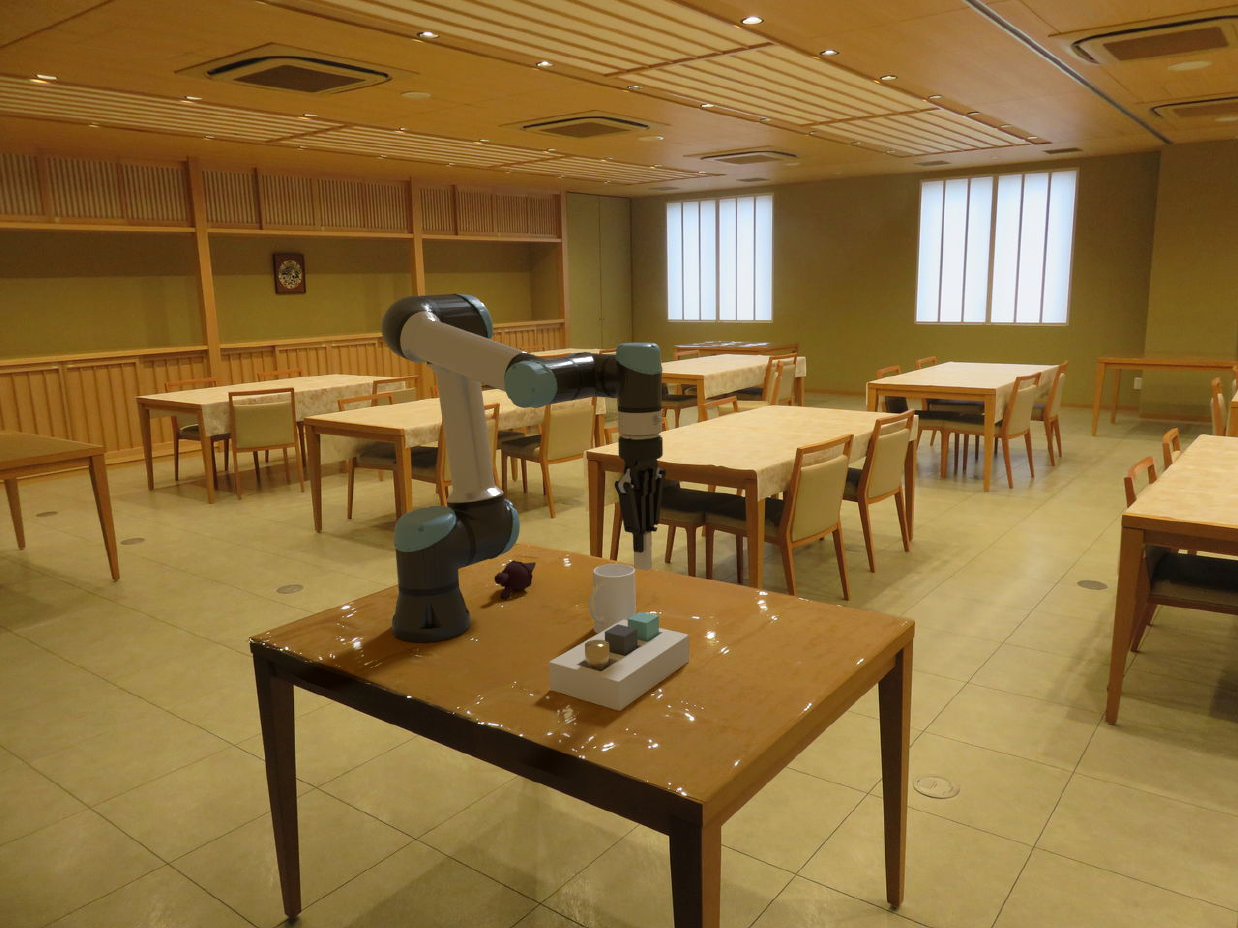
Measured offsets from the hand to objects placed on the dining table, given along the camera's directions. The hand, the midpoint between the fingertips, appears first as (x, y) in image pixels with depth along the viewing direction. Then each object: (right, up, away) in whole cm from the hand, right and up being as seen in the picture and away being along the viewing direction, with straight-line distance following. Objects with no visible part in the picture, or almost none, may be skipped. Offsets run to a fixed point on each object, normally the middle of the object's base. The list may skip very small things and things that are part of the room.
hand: (642, 568), depth 158 cm
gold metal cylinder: (-8, -16, -8) cm, 20 cm away
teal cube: (0, -13, +3) cm, 14 cm away
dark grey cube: (-4, -15, -3) cm, 15 cm away
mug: (-6, -14, +17) cm, 23 cm away
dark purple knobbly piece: (-27, -10, +41) cm, 50 cm away
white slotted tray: (-4, -18, -2) cm, 19 cm away
